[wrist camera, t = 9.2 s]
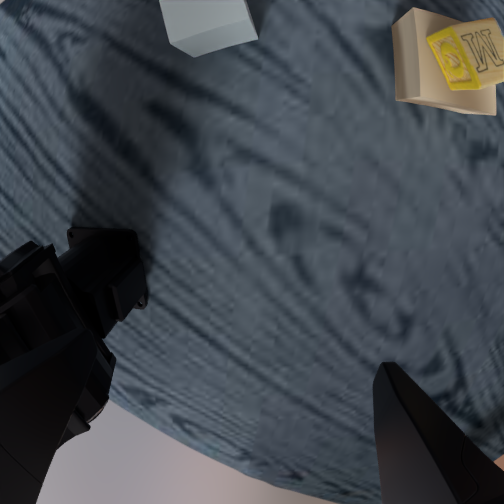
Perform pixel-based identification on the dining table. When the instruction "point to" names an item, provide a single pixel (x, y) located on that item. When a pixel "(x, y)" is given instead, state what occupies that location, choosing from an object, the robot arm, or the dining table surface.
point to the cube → (207, 24)
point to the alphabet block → (470, 54)
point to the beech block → (430, 68)
